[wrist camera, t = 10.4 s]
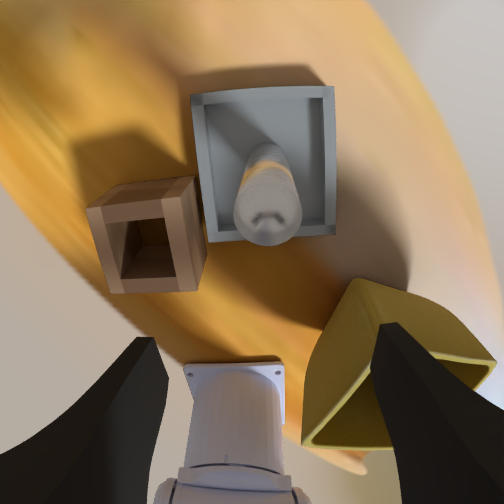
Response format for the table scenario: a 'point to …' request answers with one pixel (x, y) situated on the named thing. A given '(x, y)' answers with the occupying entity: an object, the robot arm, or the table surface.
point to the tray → (266, 131)
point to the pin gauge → (267, 198)
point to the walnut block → (150, 256)
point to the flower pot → (359, 359)
